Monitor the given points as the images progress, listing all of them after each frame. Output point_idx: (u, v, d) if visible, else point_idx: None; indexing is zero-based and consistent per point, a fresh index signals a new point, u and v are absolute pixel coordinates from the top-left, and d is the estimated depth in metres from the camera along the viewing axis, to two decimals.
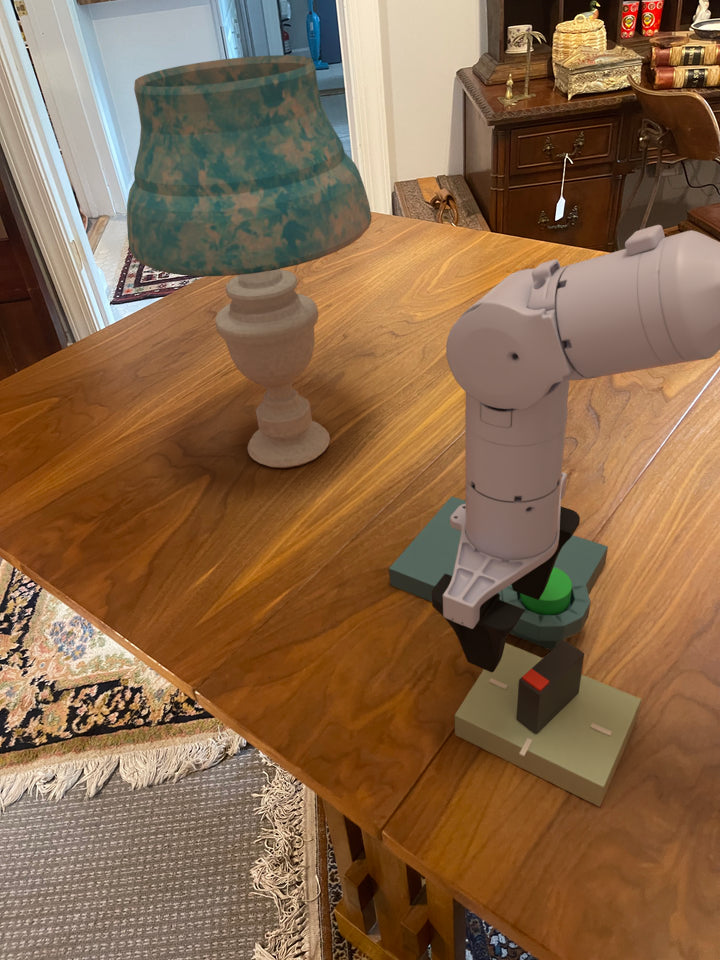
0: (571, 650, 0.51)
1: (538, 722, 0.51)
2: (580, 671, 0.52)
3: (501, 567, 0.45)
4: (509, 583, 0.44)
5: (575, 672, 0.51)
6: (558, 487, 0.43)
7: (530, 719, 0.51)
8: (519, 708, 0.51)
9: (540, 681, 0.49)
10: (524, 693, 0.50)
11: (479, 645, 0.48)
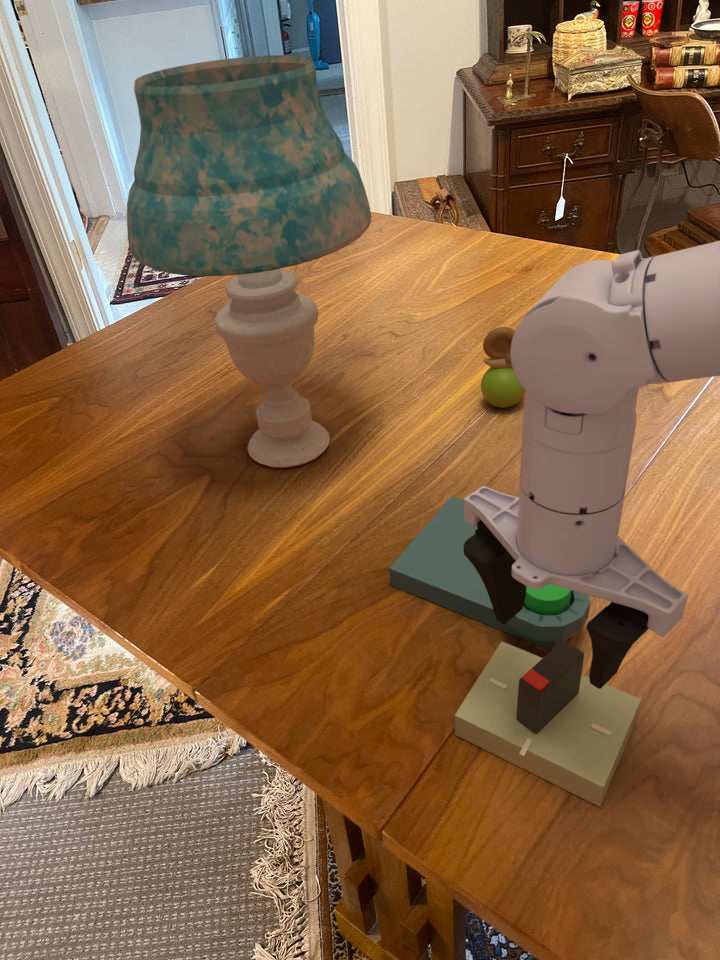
0: (571, 650, 0.51)
1: (538, 722, 0.51)
2: (580, 671, 0.52)
3: (619, 564, 0.42)
4: None
5: (575, 672, 0.51)
6: None
7: (530, 719, 0.51)
8: (519, 708, 0.51)
9: (540, 681, 0.49)
10: (524, 693, 0.50)
11: None
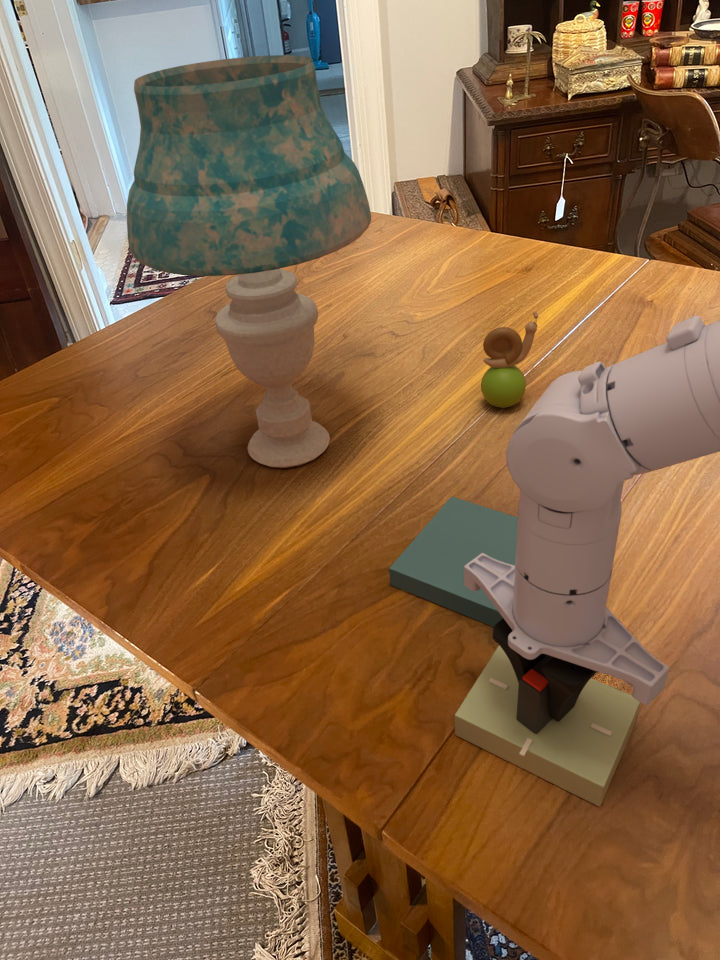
0: None
1: (538, 722, 0.51)
2: None
3: (607, 634, 0.46)
4: None
5: None
6: None
7: (530, 719, 0.51)
8: (519, 708, 0.51)
9: (540, 681, 0.49)
10: (524, 693, 0.50)
11: (571, 693, 0.50)
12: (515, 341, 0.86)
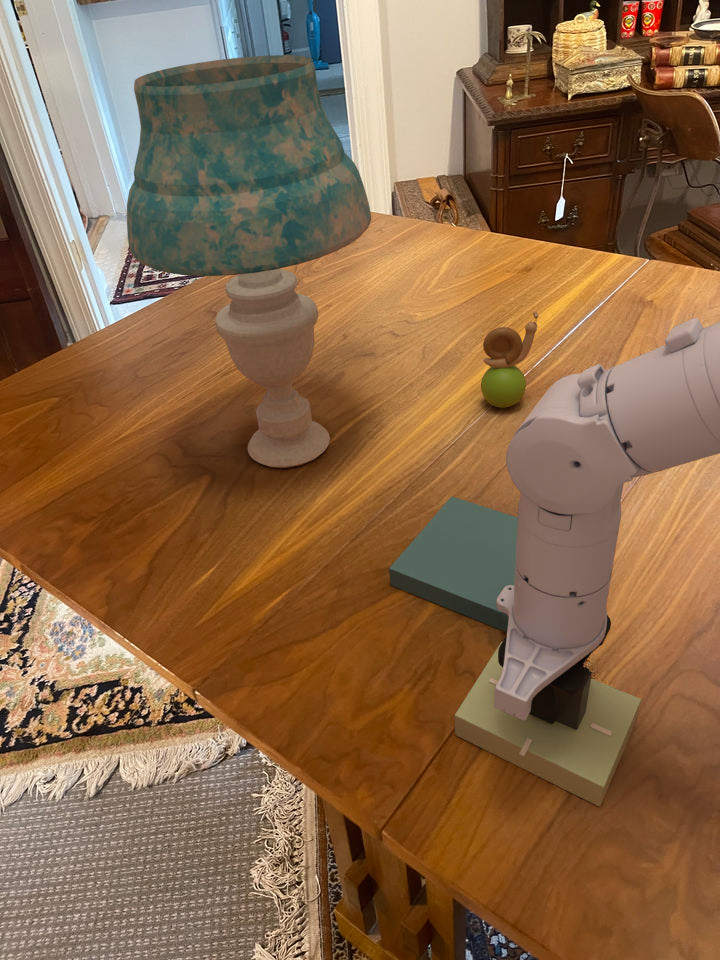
0: None
1: None
2: (576, 705, 0.50)
3: (551, 656, 0.45)
4: (560, 674, 0.44)
5: None
6: (609, 580, 0.44)
7: None
8: None
9: None
10: None
11: (541, 699, 0.50)
12: (515, 341, 0.86)
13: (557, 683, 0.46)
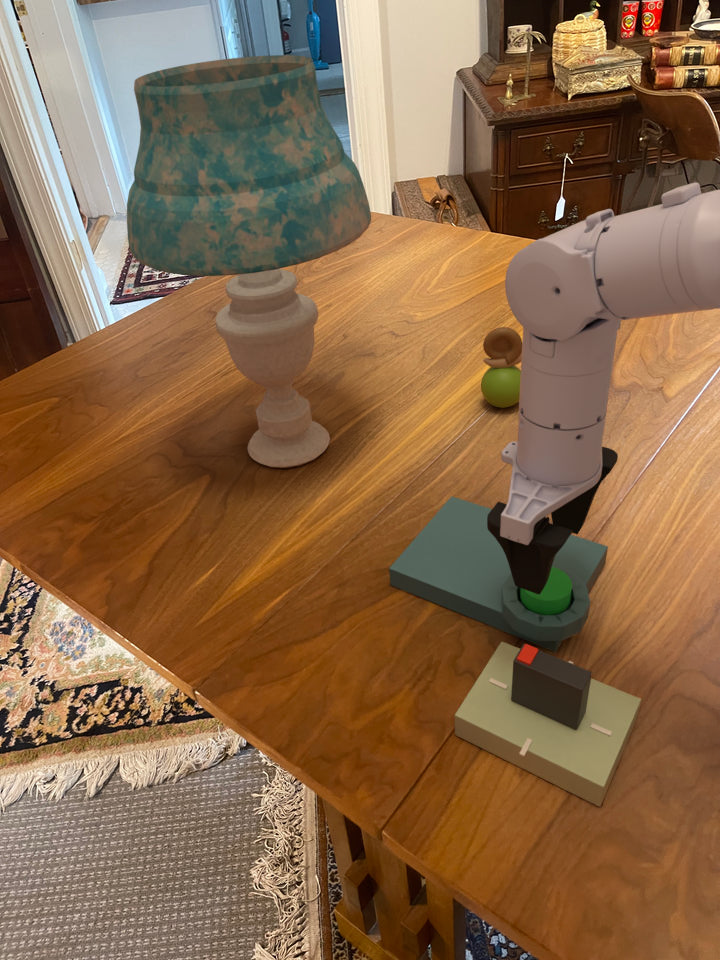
0: (580, 679, 0.49)
1: (513, 690, 0.53)
2: (576, 705, 0.50)
3: (551, 492, 0.50)
4: (559, 505, 0.49)
5: (567, 696, 0.50)
6: (604, 418, 0.48)
7: None
8: None
9: (526, 657, 0.51)
10: None
11: (528, 568, 0.53)
12: (515, 341, 0.86)
13: (542, 541, 0.49)
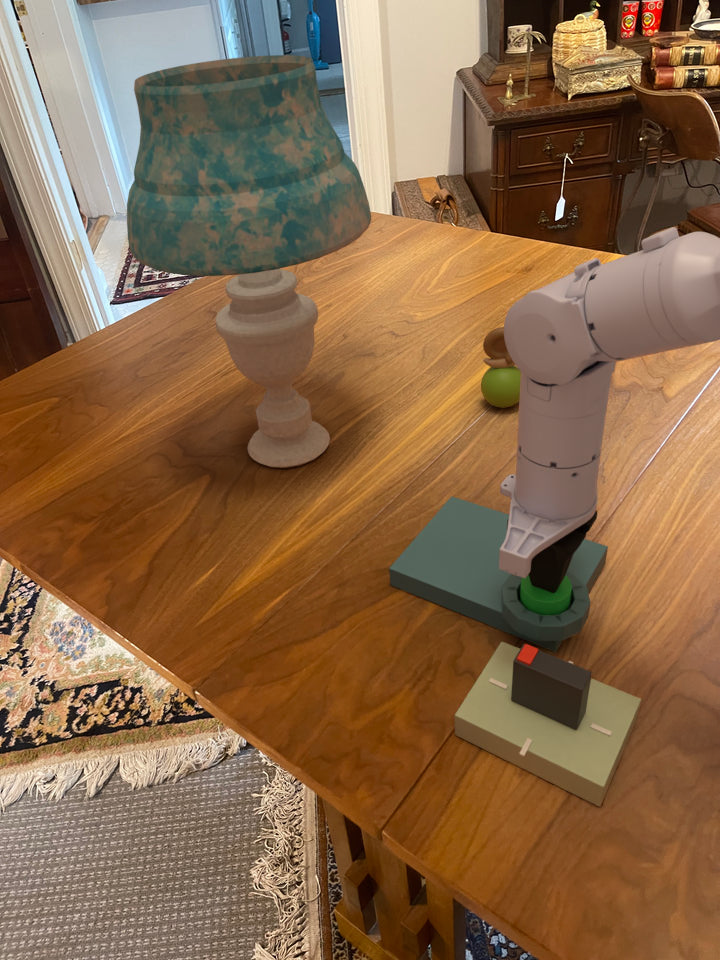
0: (580, 679, 0.49)
1: (513, 690, 0.53)
2: (576, 705, 0.50)
3: (548, 526, 0.52)
4: (556, 539, 0.51)
5: (567, 696, 0.50)
6: (599, 456, 0.50)
7: None
8: None
9: (526, 657, 0.51)
10: None
11: (544, 569, 0.57)
12: None
13: (558, 544, 0.53)
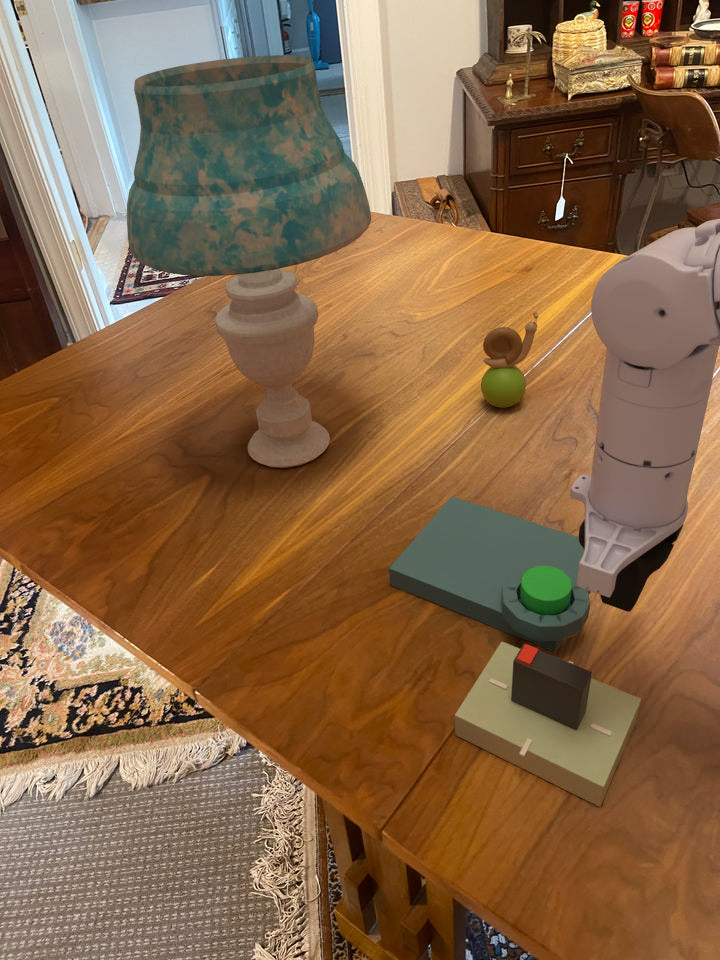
0: (580, 679, 0.49)
1: (513, 690, 0.53)
2: (576, 705, 0.50)
3: (633, 536, 0.44)
4: (644, 551, 0.43)
5: (567, 696, 0.50)
6: (696, 453, 0.42)
7: None
8: None
9: (526, 657, 0.51)
10: None
11: (619, 584, 0.50)
12: (515, 341, 0.86)
13: (643, 556, 0.45)
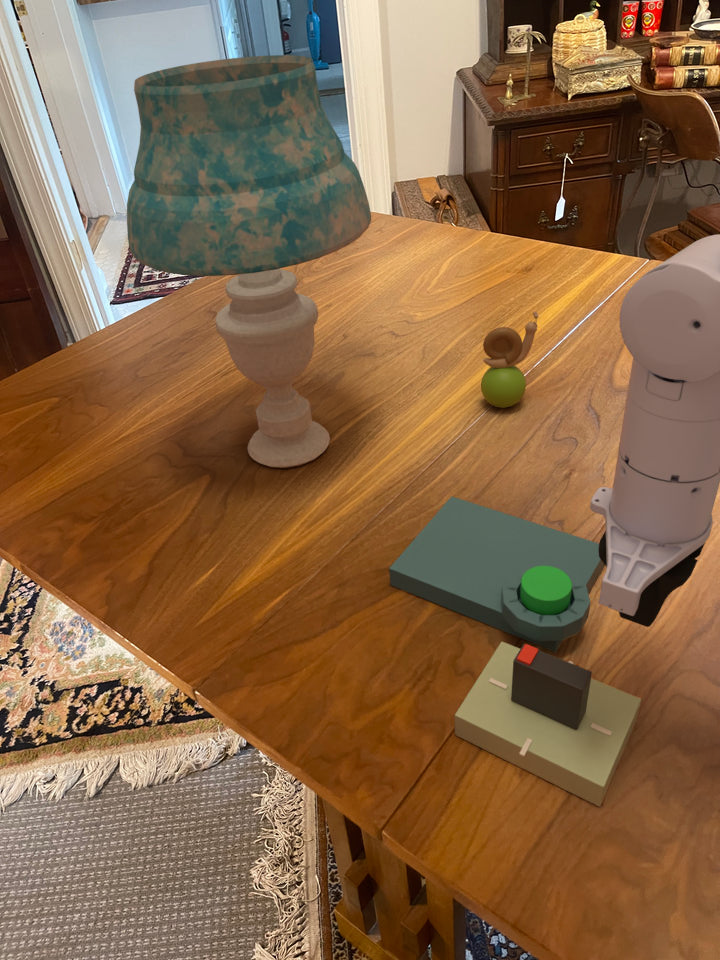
0: (580, 679, 0.49)
1: (513, 690, 0.53)
2: (576, 705, 0.50)
3: (656, 552, 0.43)
4: (668, 568, 0.42)
5: (567, 696, 0.50)
6: None
7: None
8: None
9: (526, 657, 0.51)
10: None
11: (639, 599, 0.48)
12: (515, 341, 0.86)
13: (666, 572, 0.44)
